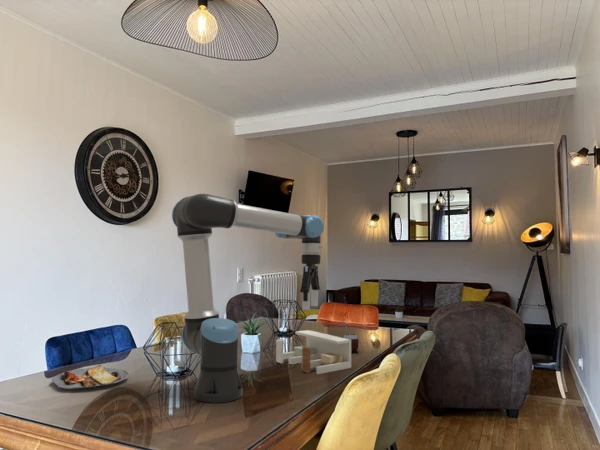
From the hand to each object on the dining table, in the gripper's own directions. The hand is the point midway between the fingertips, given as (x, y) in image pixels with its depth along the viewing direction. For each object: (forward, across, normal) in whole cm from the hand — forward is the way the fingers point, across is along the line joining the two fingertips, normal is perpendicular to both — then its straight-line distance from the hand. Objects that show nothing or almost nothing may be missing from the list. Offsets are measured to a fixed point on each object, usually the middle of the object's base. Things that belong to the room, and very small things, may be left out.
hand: (310, 307), depth 183 cm
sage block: (+24, +11, +10) cm, 28 cm away
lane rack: (+24, +8, +1) cm, 25 cm away
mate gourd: (+24, +34, -10) cm, 43 cm away
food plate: (+25, -40, +68) cm, 83 cm away
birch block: (+24, 0, -5) cm, 24 cm away
